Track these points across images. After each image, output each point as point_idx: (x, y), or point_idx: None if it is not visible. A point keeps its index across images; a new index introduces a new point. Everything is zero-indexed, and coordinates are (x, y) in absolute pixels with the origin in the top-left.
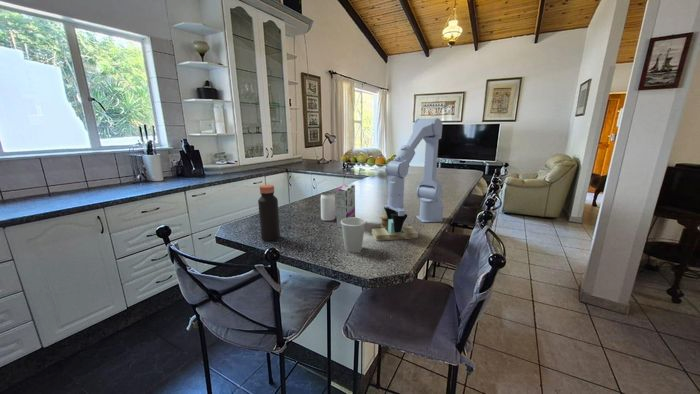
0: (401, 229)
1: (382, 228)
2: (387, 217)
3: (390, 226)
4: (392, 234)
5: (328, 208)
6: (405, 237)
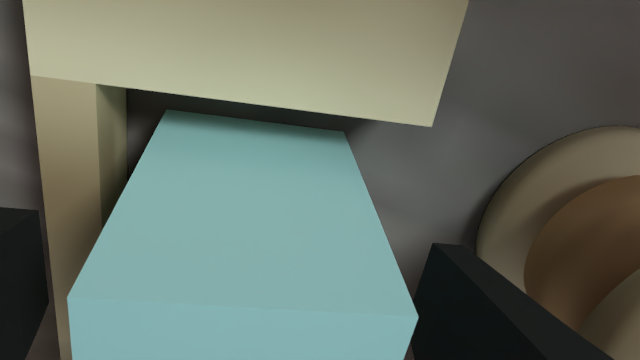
0: None
1: (428, 77)
2: (574, 341)
3: (187, 215)
4: (42, 136)
5: None
6: None
